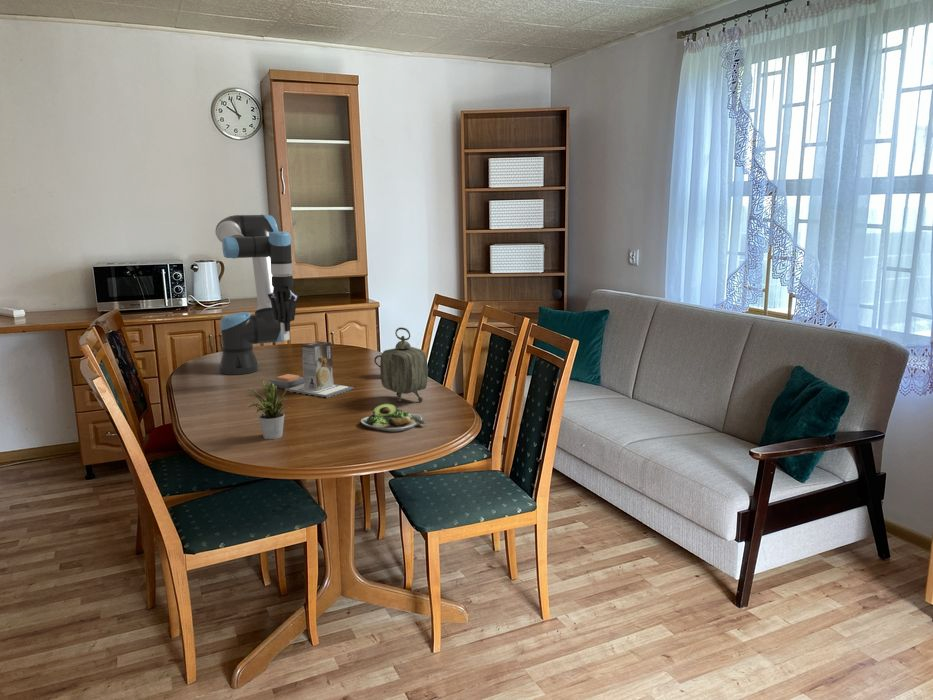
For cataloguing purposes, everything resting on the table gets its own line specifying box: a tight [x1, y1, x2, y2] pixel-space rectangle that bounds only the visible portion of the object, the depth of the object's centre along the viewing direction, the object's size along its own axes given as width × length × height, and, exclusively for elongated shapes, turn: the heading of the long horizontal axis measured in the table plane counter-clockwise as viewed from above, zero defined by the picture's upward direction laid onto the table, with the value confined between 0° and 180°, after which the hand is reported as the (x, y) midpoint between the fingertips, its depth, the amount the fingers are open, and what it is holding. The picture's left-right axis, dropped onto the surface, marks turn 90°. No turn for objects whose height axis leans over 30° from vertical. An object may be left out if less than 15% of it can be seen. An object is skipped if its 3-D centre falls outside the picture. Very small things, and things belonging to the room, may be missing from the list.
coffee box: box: [301, 340, 335, 391], centre depth 245 cm, size 9×6×16 cm
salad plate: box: [359, 403, 427, 433], centre depth 206 cm, size 19×18×5 cm
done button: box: [276, 373, 300, 381], centre depth 253 cm, size 6×6×2 cm
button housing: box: [269, 376, 304, 389], centre depth 253 cm, size 9×9×2 cm
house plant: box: [245, 380, 291, 440], centre depth 194 cm, size 14×14×16 cm
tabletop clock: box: [379, 327, 429, 403], centre depth 229 cm, size 14×9×25 cm, turn 48°
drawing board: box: [284, 383, 354, 399], centre depth 246 cm, size 20×14×1 cm
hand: (285, 339), depth 251 cm, fingers closed
